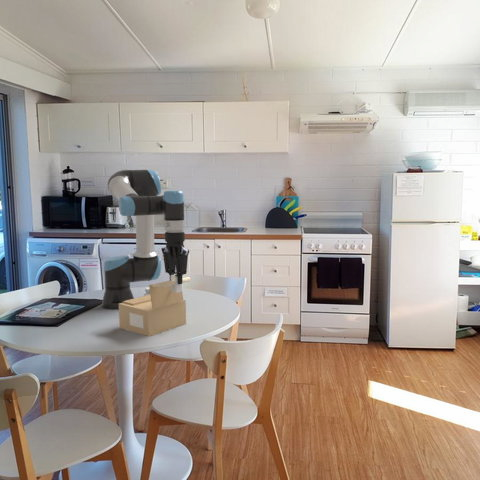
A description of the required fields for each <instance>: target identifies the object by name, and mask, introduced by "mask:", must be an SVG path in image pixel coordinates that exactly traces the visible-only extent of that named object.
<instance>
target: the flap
mask: <svg viewBox="0 0 480 480" xmlns="http://www.w3.org/2000/svg"><path fill="white" fill-rule="evenodd" d="M191 280H192V279H191V277H190V276H187V277H182V284H184V283H188V282H191ZM172 285H175V280H173V281H170V280H166V281H162V282H161V281H160V282H157V283H153V284H148V287H149V289H150V296H151V302H152V309H155V308H159V307H162V306H166V305H169V304H173V303H176V302H180V301H183V300H184V295H183V294H184V293H183V291H182V292H179V293H175V292H171V286H172Z"/></svg>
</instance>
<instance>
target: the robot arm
mask: <svg viewBox="0 0 480 480" xmlns="http://www.w3.org/2000/svg"><path fill="white" fill-rule="evenodd" d="M161 182H162V181H161V179H160V175H159V174H158V172H157V171H156V170H154V169H153V170H152V169H121V170H119V171H117V172H115V173H113V174H112V175H111V176H110V177H109V179H108V181H107V189H108V191H109V193H110V194H111V195H112V196H114V197H115V198H117V200H118V211H119V214H120V215H121V216H123V217H135V242H136V243H135V246H136V247H135V248H136V250H135V251H134V253H133V255H132V257H131V258H130V256H129V255H118V256H112V257H109V258H107V259H106V260H105V261H104V264H103V266H104V267H103V271H104V294H103V298H102V300H101V306H102V307H101V308H104V309H108V310H110V309H111V310H112V309H113V310H115V309H116V310H117V309H118V310H119V304H120V303H123V301H126V300H130V299H134V294H133V293H132V290H131V283H137V282H150V281H155V280H157V279H159V278H160V275H161V272H162V258H161V257H160V256H158V253H157V252H156V250H155V216H159V215H161V216H162V215H163V216H164V217H163V219H164V220H163V221H164V231H165V232H164V242H166V244H165V246H164V247H161V252H162V255H163V256H162V257H163V264H164V269H165V270H164V271H165V273H166V274H168V275H169V281H173V280H175V285H172V286H171V292H175V293H179V292H182V293H183V289H182V288H183V287H182V285H183V283H182V278H183V276H184V275H186V274H187V273H188V272H187V271H188V270H187V269H188V261H189V259H188V257H189V254H190V249H186V248H185V245H184V242H185V240H186V236H185V234H186V233H185V230H186V229H185V228H186V227H185V197H184V192H183V191H182V190H165V191H164V192H163V195H161V193H162V183H161Z"/></svg>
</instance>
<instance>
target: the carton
mask: <svg viewBox="0 0 480 480" xmlns="http://www.w3.org/2000/svg"><path fill="white" fill-rule="evenodd" d="M133 298H134V297H133ZM118 316H119V317H118V321H119V323H118V324H119V328H120V329H122V330H126V331H128V332H132V333H136V334H140V335H143V336H146V337H151V336H154V335H157V334H160V333H163V332H167V331H169V330H172V329H175V328H178V327H181V326H183V325H186V324H187V303H186V299H183V301H180V302H176V303H173V304H169V305H166V306H162V307H159V308H155V309H152V302H151V296H150V295H146V296H144V295H143V296H140V297H135V298H134V299H130V300H126V301H123V303H120V304H119V309H118Z"/></svg>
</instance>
